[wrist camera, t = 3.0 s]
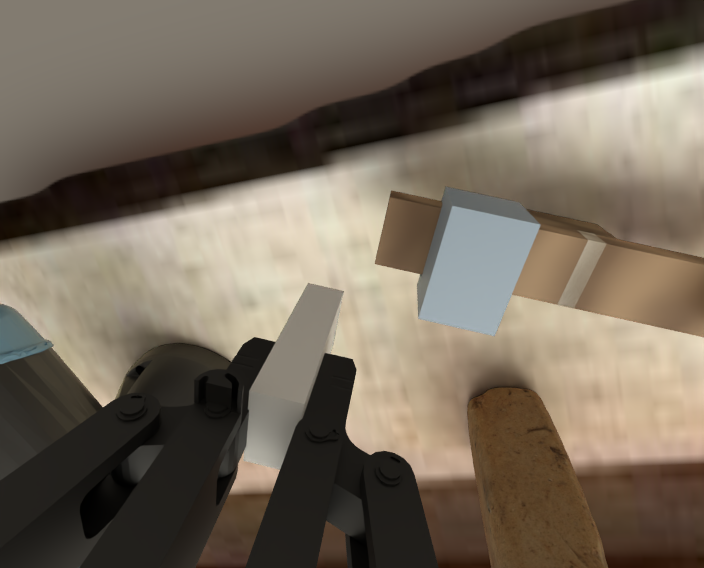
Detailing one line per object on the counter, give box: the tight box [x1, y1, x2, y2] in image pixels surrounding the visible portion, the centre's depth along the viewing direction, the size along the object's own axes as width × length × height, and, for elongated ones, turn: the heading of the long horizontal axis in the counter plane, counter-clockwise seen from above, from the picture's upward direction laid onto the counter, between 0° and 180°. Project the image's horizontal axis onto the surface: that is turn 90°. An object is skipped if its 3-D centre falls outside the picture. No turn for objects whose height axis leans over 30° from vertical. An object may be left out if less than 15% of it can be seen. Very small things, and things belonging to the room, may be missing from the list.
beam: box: [375, 191, 704, 337], centre depth 29 cm, size 28×5×10 cm, turn 80°
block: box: [467, 387, 608, 568], centre depth 34 cm, size 11×8×20 cm
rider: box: [417, 187, 540, 336], centre depth 26 cm, size 5×8×5 cm, turn 170°
